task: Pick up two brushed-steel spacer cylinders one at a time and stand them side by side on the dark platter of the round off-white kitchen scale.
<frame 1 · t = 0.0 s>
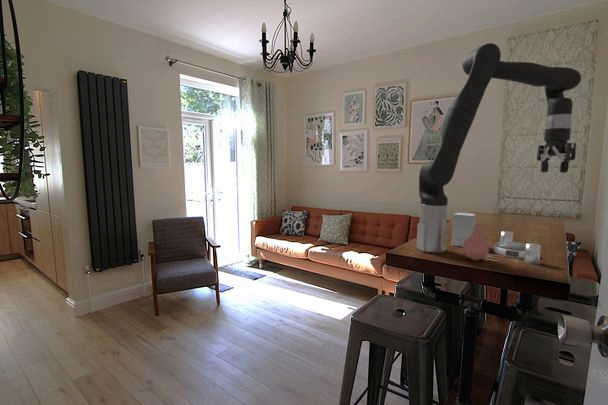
hand: (553, 172, 117), 29 cm above the table, tool pointing down, fingers open, 8 cm apart
steel spacer 1: (505, 247, 122), on the table
scale: (512, 253, 113), on the table
pink rounded bulb: (474, 260, 106), on the table
supplement box: (462, 245, 126), on the table
steel spacer 2: (531, 262, 103), on the table
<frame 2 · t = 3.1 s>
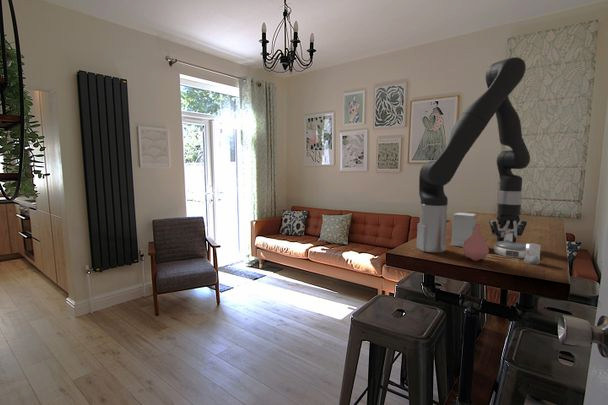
hand: (506, 246, 122), 0 cm above the table, tool pointing down, fingers closed on steel spacer 1, 4 cm apart
steel spacer 1: (505, 247, 122), on the table, touching gripper
everything else where it was.
when the fingers open (4 cm above the table, at t = 7.4 s): steel spacer 1 stays where it is, resting on scale.
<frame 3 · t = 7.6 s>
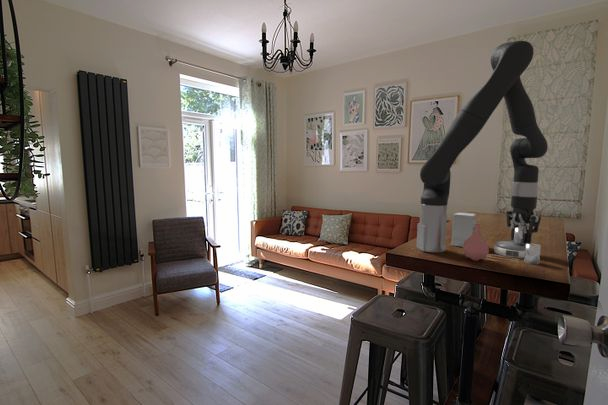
hand: (520, 241, 113), 4 cm above the table, tool pointing down, fingers open, 5 cm apart
steel spacer 1: (520, 244, 113), point 3 cm above the table, touching scale
everything else where it was.
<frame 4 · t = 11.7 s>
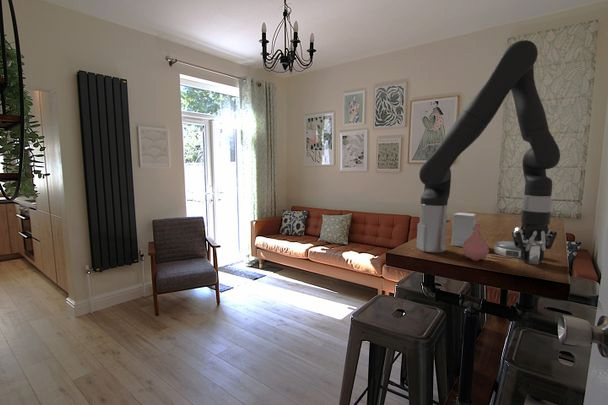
hand: (531, 261, 103), 0 cm above the table, tool pointing down, fingers closed on steel spacer 2, 4 cm apart
steel spacer 2: (531, 262, 103), on the table, touching gripper
everything else where it was.
when the fingers open (4 cm above the table, at t = 16.1 s): steel spacer 2 stays where it is, resting on scale.
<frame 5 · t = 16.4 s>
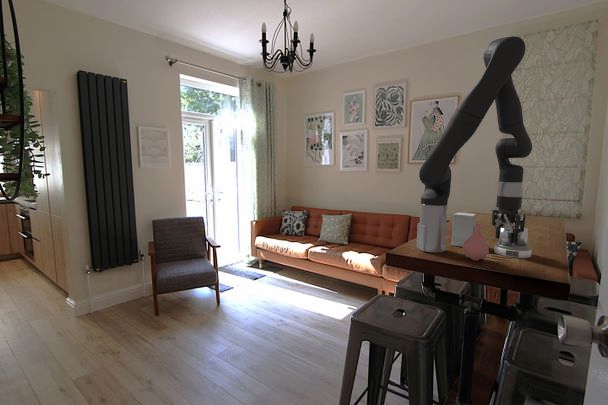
hand: (505, 240, 113), 5 cm above the table, tool pointing down, fingers open, 7 cm apart
steel spacer 2: (505, 244, 113), point 3 cm above the table, touching scale
everything else where it was.
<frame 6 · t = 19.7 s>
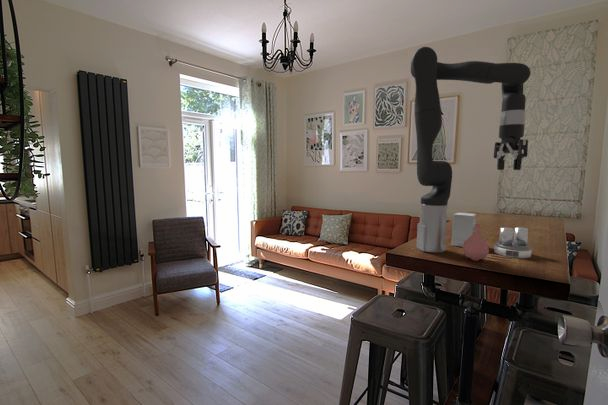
hand: (508, 169, 114), 30 cm above the table, tool pointing down, fingers open, 8 cm apart
nothing on the table moved.
at the end: steel spacer 1 inside the target area on the scale (2.7 cm from its centre), point 3.3 cm above the scale's base; steel spacer 2 inside the target area on the scale (2.7 cm from its centre), point 3.3 cm above the scale's base; steel spacer 2 tilted 0° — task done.
